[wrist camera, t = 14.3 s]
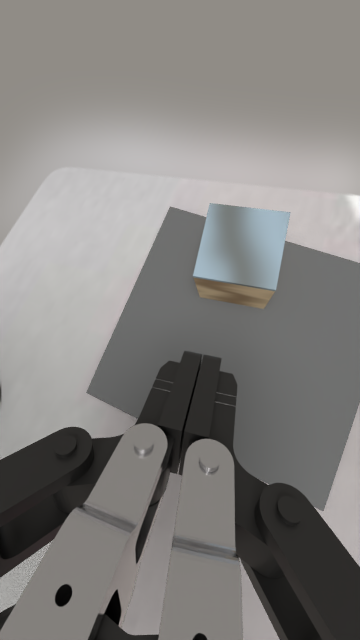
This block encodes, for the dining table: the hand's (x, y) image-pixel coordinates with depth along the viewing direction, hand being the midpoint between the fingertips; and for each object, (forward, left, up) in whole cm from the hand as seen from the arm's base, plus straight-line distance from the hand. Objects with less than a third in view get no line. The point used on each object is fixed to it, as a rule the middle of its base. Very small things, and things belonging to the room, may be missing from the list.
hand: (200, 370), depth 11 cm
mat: (+1, +4, -18) cm, 19 cm away
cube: (-2, +11, -11) cm, 16 cm away
